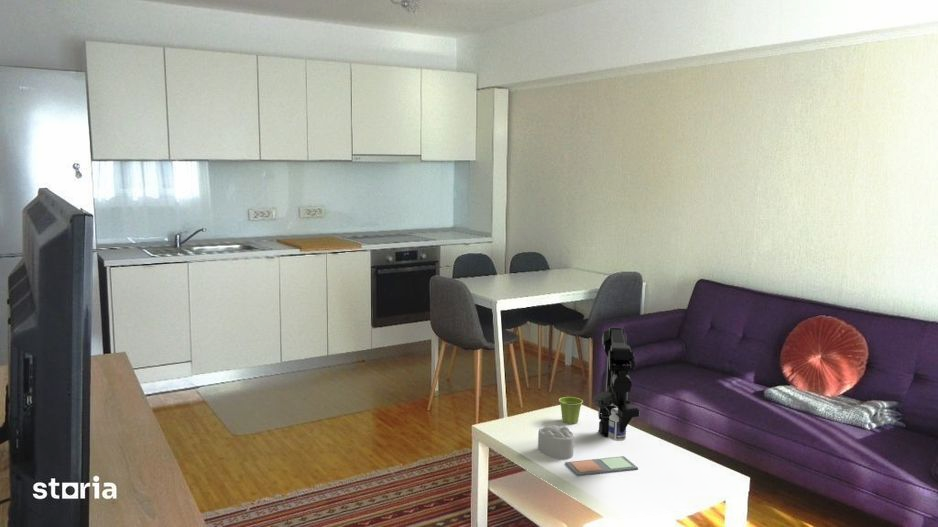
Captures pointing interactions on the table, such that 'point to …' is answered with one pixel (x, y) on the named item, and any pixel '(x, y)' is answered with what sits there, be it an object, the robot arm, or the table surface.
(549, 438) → the lumpy-topped squat cylinder
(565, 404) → the plant pot
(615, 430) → the pill bottle
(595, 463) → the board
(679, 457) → the table surface
